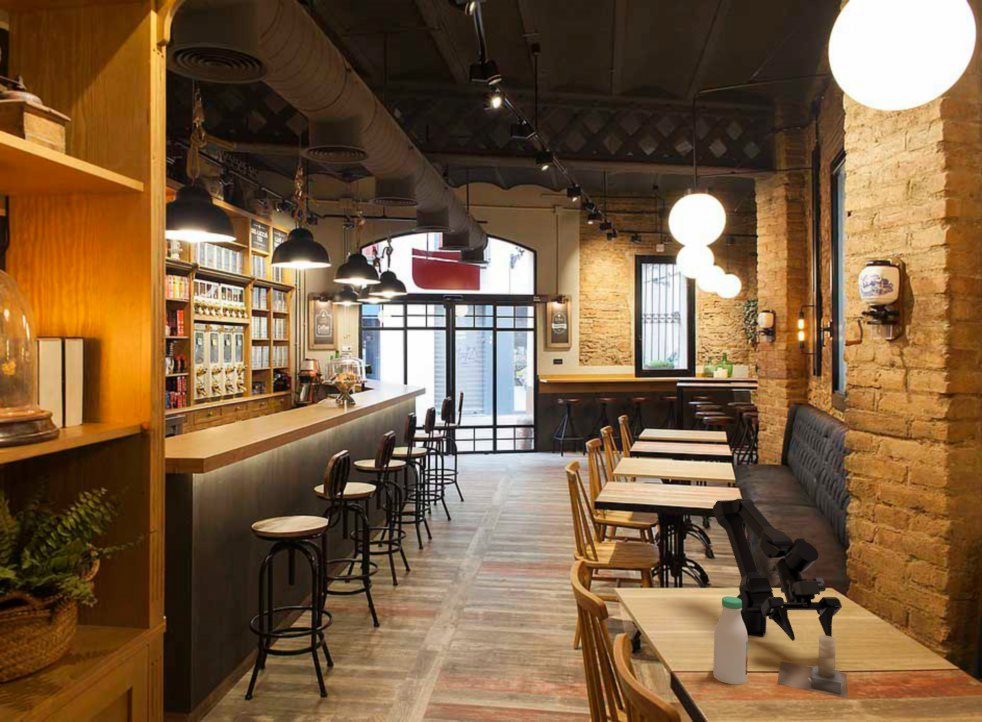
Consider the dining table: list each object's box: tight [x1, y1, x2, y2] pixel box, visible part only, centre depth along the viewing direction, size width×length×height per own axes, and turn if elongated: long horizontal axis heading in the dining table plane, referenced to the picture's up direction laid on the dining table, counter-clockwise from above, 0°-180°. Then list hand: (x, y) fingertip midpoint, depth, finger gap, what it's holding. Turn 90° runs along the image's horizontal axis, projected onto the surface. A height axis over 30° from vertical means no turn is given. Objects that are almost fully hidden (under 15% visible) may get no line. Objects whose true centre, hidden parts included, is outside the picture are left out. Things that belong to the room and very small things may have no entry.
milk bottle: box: [712, 596, 749, 685], centre depth 172 cm, size 8×8×20 cm
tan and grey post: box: [812, 634, 841, 694], centre depth 169 cm, size 6×7×11 cm
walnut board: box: [776, 661, 849, 699], centre depth 172 cm, size 15×14×1 cm
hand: (811, 639), depth 176 cm, fingers open, 9 cm apart
